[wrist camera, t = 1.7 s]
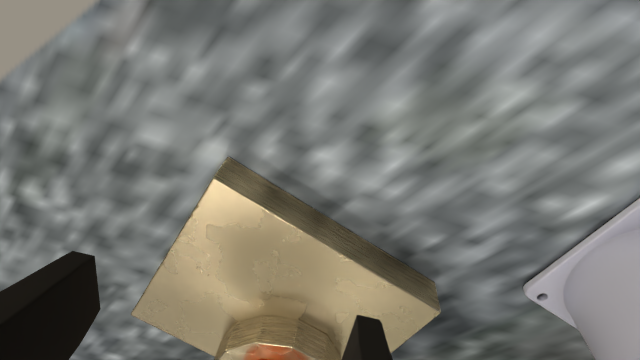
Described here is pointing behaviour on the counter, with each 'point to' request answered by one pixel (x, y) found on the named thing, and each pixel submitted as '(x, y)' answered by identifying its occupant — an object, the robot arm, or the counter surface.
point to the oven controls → (277, 278)
